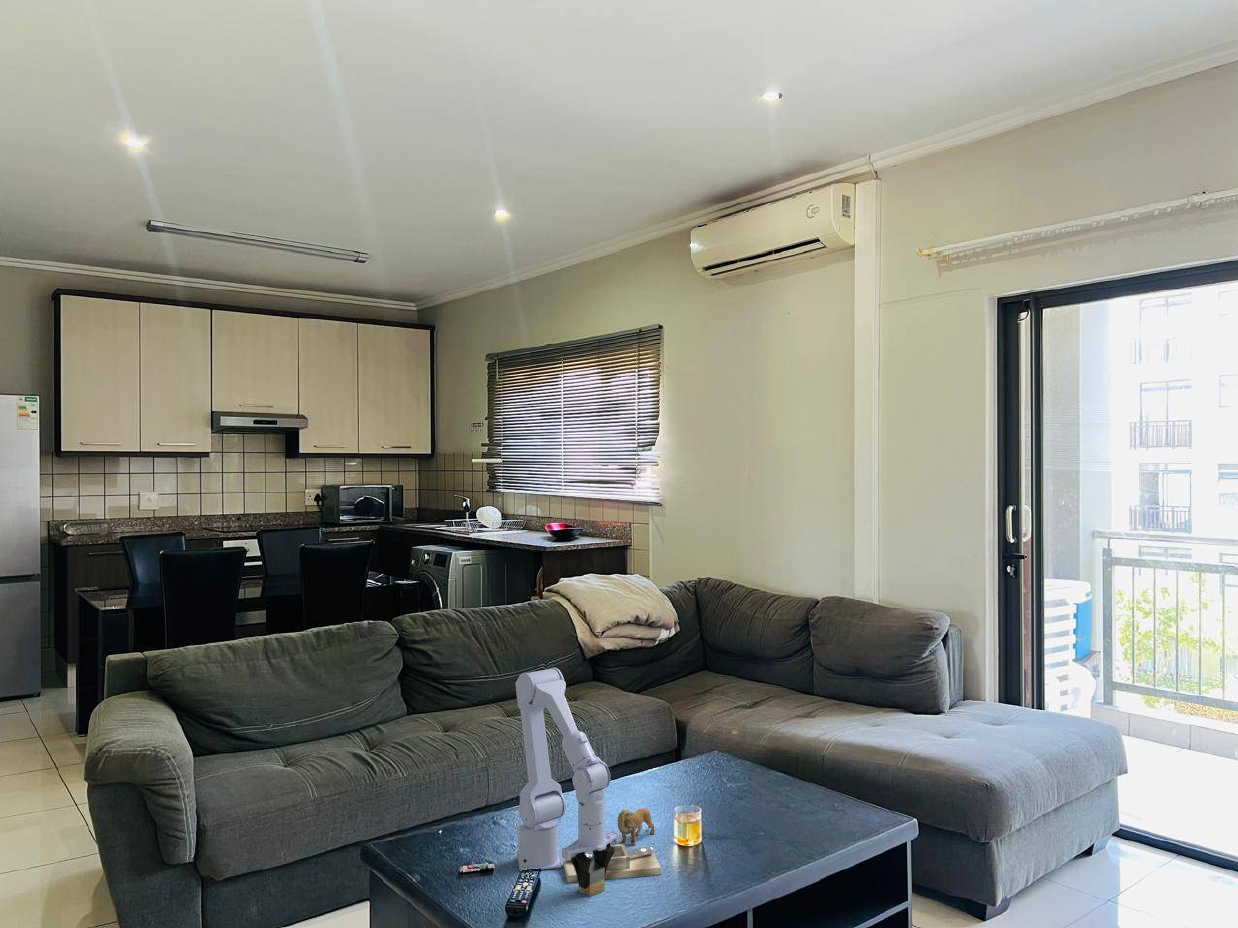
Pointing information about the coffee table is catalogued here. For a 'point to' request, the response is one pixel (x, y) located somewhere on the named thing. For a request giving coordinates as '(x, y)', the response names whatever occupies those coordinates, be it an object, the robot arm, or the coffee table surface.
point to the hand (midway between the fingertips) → (591, 883)
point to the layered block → (594, 880)
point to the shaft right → (641, 852)
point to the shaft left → (587, 856)
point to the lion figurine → (633, 823)
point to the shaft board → (621, 865)
